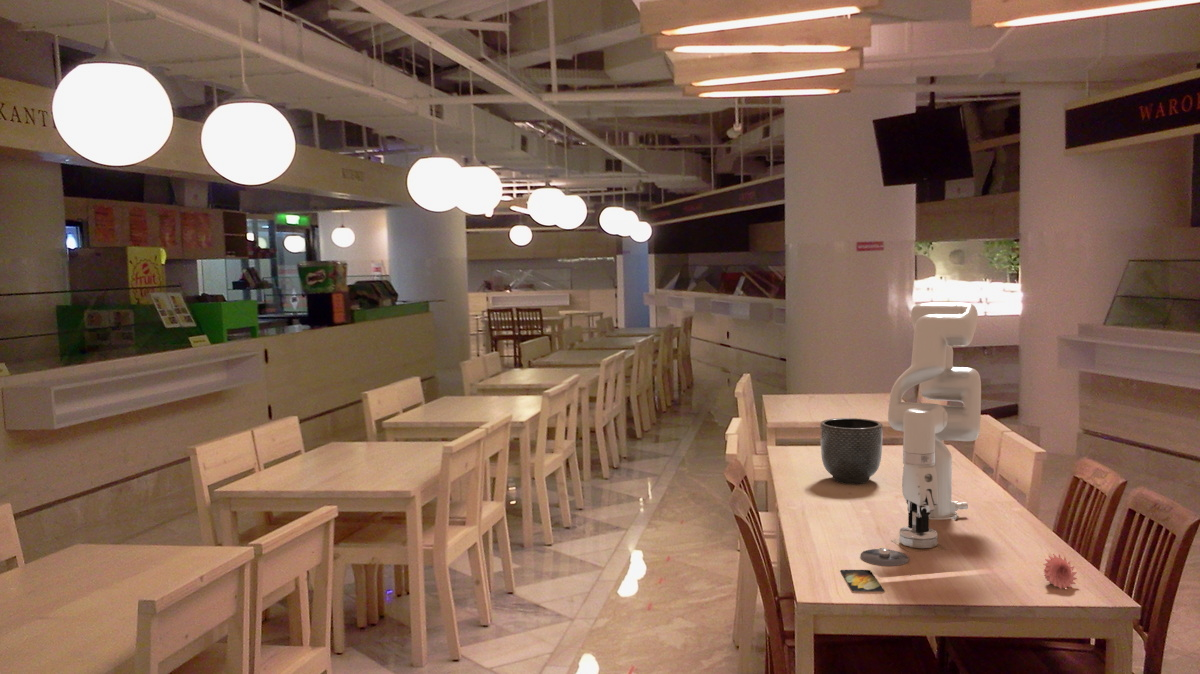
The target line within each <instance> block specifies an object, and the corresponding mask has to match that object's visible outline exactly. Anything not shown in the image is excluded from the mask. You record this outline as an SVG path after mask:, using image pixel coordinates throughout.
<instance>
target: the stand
mask: <svg viewBox="0 0 1200 674" xmlns="http://www.w3.org/2000/svg"><path fill="white" fill-rule="evenodd" d="M890 542H892V543H894V544H895V545H897V546H899V547H901V548H902V549H904V550H905V551H907V552H909V553H914V552H915V553H917V552H928V551H929V552H930V551H942V550H947V548H946V547H944V546H942V545H940V544H939V543H937V546H935V547H932V548H912V547H909V546H905V545H903V544H901V543H900V542H899V539H890Z"/></svg>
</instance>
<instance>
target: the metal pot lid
mask: <svg viewBox="0 0 1200 674" xmlns="http://www.w3.org/2000/svg"><path fill="white" fill-rule="evenodd" d="M860 559H861V560H862V561H863V562H865V563H869V564H872V565H876V566H881V567H884V566H886V567H887V566H888V567H895V566H896V567H897V566H901V565H906V564H908V562H909V556H908V555H907V554H906V553H905V552H904V553H903V552H901V551H899V550H893V549H890V548H885V547H881V548H872V549H866V550H863V551H861V553H860Z"/></svg>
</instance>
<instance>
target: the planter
mask: <svg viewBox="0 0 1200 674" xmlns="http://www.w3.org/2000/svg"><path fill="white" fill-rule="evenodd" d="M883 428H884V427H883V424H882V422H881V421H877V420H873V419H867V418H857V417H855V418H854V417H852V418H851V417H840V418H838V417H837V418H829V419H825V420H822V421H821V422H820V424H819V430H820V434H819V437H820V439H819V440H820V452H821V453H820V454H821V455H820V456H821V461H822V465H823V467H824V469H825V471H827V473H829V475H831V477H832V478H833V480H834V481H835V482H837V483H839V484H845V485H862V484H866V483H867V482H869V481H870V478H871V477H872V476H873V475H875V474H876V473H877V471H878V470H879V467H880V465H881V461H882V453H883V436H884V435H883V431H884V430H883Z"/></svg>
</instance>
